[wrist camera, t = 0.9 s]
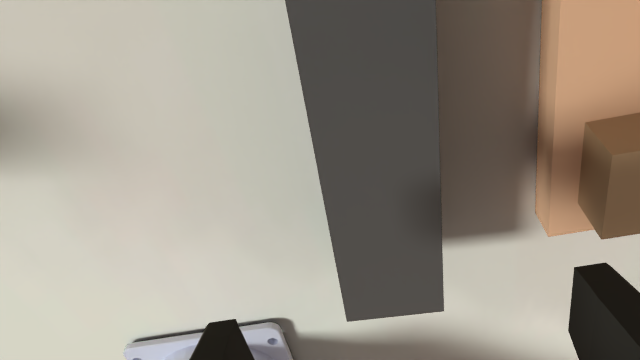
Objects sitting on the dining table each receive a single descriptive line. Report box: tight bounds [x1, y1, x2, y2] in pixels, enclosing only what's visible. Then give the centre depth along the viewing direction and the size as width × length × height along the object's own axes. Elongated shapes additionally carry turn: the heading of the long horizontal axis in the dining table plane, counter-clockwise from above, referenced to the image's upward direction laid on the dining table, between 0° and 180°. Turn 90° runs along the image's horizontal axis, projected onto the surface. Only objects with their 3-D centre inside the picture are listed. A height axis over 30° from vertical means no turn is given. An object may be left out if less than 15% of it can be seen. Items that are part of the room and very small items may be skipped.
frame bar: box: [285, 0, 444, 322], centre depth 17 cm, size 12×4×4 cm, turn 9°
